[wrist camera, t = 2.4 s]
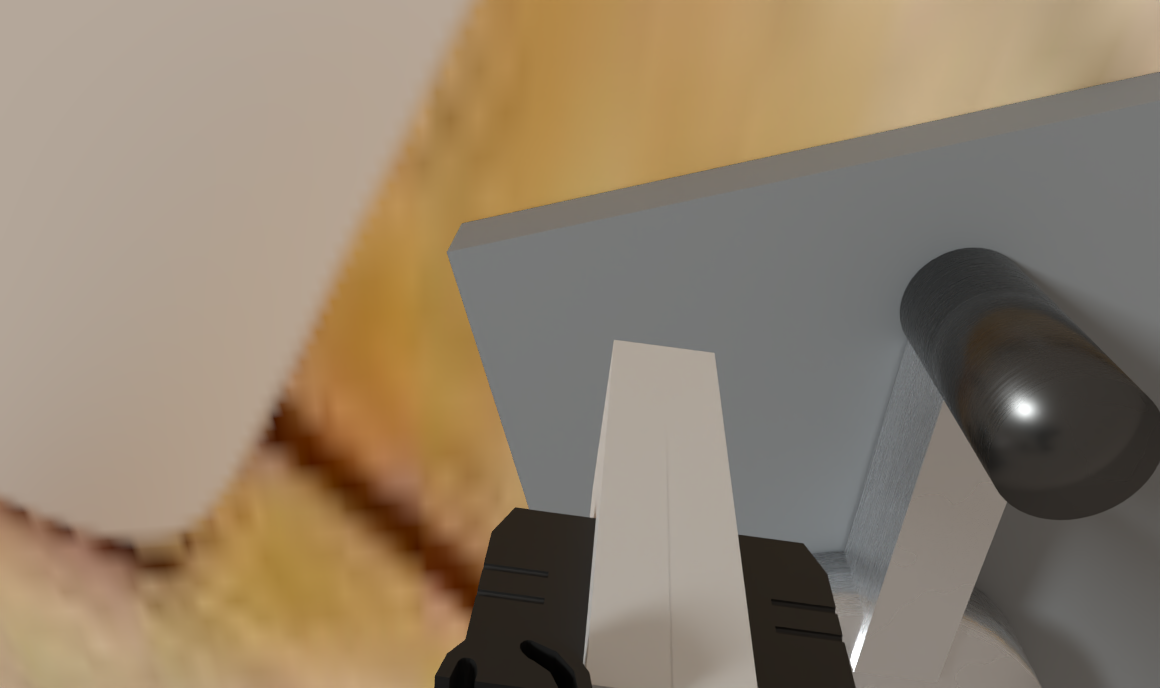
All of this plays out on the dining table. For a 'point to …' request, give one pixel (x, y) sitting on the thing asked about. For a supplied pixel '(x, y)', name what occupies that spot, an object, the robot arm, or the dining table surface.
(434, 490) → the dining table surface
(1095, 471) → the cam lever
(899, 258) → the stand
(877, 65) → the dining table surface
